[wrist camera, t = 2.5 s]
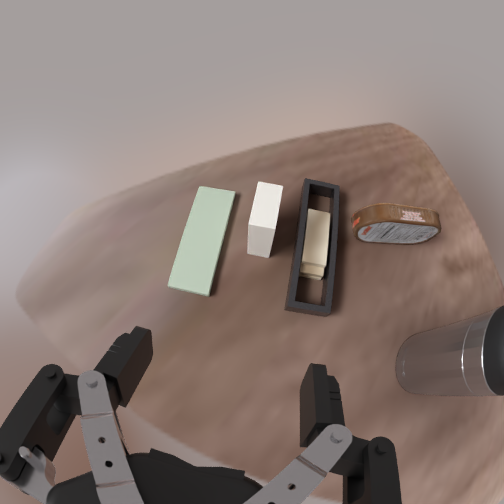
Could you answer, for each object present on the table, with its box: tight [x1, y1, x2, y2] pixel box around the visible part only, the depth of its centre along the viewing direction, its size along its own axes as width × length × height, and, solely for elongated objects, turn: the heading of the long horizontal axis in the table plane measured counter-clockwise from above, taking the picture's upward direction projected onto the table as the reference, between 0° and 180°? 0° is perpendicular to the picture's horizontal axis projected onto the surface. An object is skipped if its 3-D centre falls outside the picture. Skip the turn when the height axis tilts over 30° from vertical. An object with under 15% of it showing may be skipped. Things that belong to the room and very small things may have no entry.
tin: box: [351, 203, 441, 245], centre depth 36 cm, size 15×3×8 cm, turn 89°
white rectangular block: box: [247, 182, 283, 258], centre depth 36 cm, size 3×6×8 cm, turn 169°
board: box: [168, 186, 235, 297], centre depth 39 cm, size 6×16×1 cm, turn 169°
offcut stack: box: [299, 209, 330, 280], centre depth 38 cm, size 3×10×3 cm, turn 169°
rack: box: [285, 178, 339, 317], centre depth 38 cm, size 6×20×2 cm, turn 169°
